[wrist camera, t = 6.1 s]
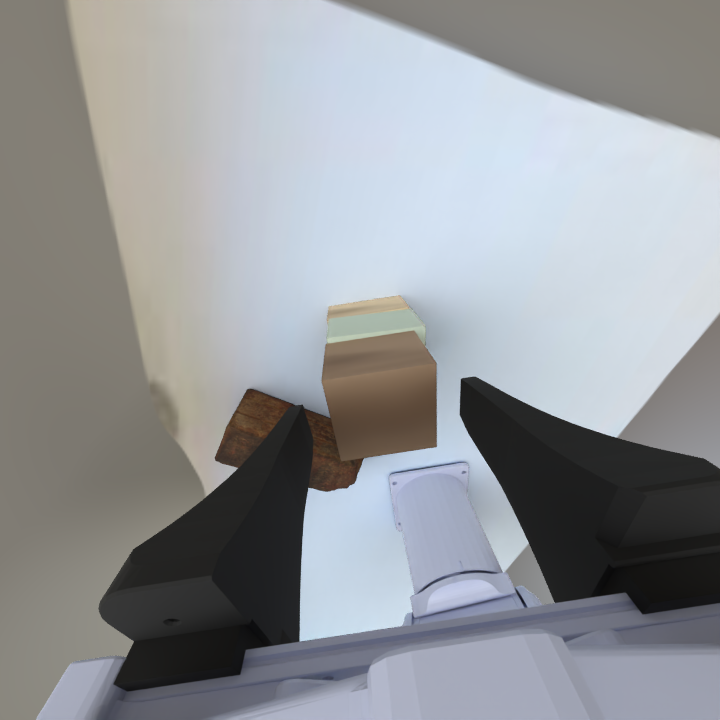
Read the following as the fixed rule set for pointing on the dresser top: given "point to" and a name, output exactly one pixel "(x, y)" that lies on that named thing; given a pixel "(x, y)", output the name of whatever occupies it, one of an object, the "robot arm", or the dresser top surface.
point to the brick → (259, 420)
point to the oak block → (367, 307)
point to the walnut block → (381, 395)
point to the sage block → (374, 325)
